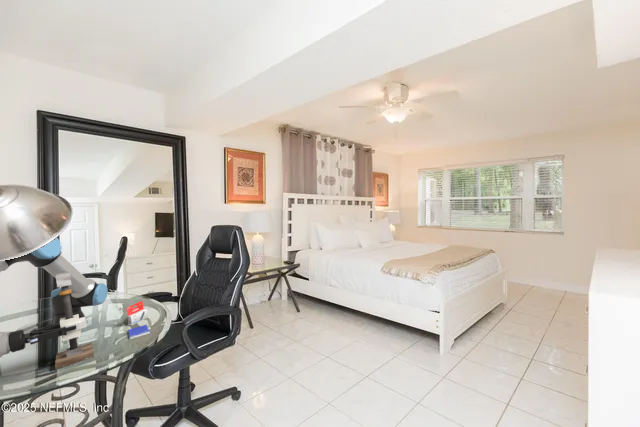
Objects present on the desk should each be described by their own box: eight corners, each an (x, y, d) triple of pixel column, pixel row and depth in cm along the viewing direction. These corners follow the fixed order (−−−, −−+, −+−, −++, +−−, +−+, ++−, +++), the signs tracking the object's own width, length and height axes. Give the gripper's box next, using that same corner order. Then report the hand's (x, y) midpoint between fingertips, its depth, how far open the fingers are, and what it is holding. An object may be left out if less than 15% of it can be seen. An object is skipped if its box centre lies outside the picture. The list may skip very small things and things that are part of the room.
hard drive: (149, 331, 143) (146, 324, 153) (129, 337, 139) (128, 329, 149) (149, 334, 143) (147, 327, 153) (129, 340, 139) (128, 332, 149)
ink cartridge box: (148, 317, 168) (145, 300, 167) (132, 325, 157) (129, 307, 156) (144, 317, 168) (142, 300, 168) (128, 325, 157) (125, 307, 157)
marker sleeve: (63, 337, 125) (60, 318, 125) (81, 332, 129) (78, 314, 129) (62, 341, 121) (59, 322, 120) (81, 335, 125) (78, 317, 124)
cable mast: (57, 358, 127) (44, 275, 125) (92, 346, 134) (80, 268, 133) (55, 369, 116) (41, 279, 115) (93, 357, 124) (81, 272, 122)
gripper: (14, 345, 121) (86, 324, 136) (7, 360, 106) (88, 336, 121) (11, 327, 120) (84, 308, 135) (3, 340, 106) (85, 318, 121)
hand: (86, 321), depth 128 cm, fingers closed on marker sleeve, 6 cm apart
